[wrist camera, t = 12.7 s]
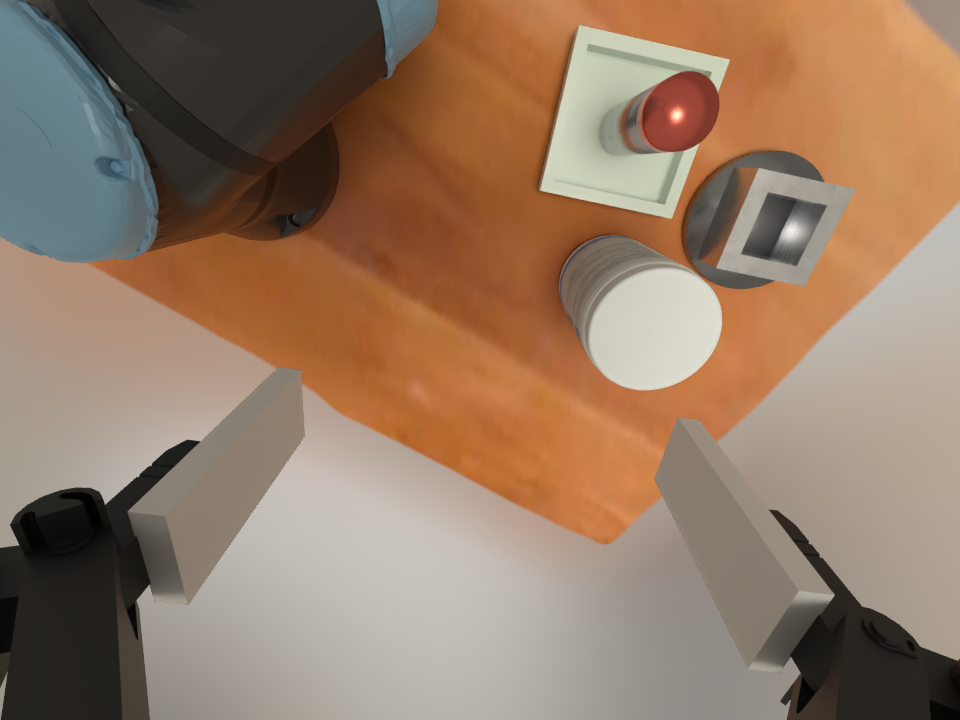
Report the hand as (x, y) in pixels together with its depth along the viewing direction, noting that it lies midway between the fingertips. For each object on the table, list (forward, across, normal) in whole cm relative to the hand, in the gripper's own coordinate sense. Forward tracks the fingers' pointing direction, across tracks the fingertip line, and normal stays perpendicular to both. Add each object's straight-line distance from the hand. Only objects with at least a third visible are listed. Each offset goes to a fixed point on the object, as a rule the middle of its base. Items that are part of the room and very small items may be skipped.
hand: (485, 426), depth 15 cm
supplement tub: (+30, +12, -1) cm, 33 cm away
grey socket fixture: (+30, +23, +6) cm, 39 cm away
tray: (+30, +10, +12) cm, 34 cm away
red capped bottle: (+30, +10, +12) cm, 34 cm away
